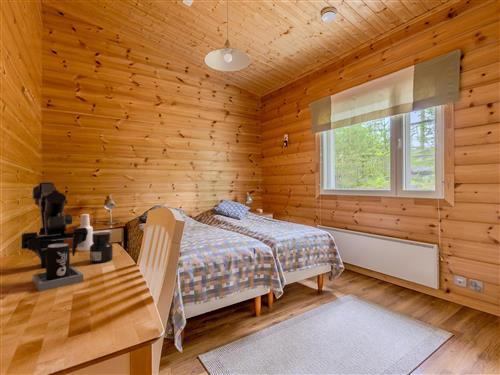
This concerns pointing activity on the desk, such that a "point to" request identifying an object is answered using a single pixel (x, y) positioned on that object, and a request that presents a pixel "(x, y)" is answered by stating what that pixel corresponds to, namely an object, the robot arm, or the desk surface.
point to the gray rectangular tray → (57, 280)
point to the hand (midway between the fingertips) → (58, 257)
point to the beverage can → (57, 261)
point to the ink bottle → (101, 248)
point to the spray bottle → (86, 224)
